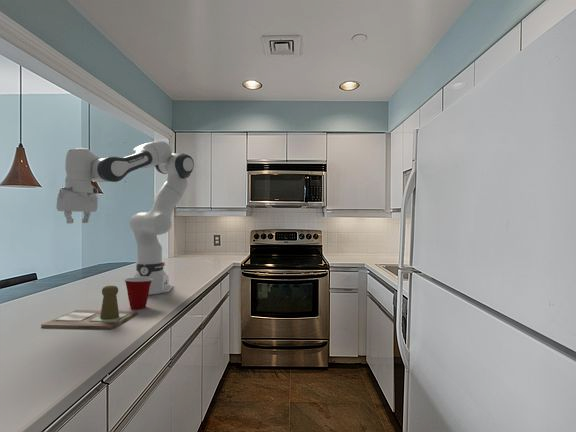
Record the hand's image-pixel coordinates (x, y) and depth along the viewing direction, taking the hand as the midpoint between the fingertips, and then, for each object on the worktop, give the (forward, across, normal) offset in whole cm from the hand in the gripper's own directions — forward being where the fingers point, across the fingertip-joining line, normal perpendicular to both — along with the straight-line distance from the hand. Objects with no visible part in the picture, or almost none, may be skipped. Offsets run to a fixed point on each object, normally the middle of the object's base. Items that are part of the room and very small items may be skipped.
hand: (77, 223), depth 139 cm
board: (+34, -14, -15) cm, 40 cm away
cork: (+33, -14, -21) cm, 42 cm away
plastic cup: (+34, +4, -23) cm, 42 cm away
